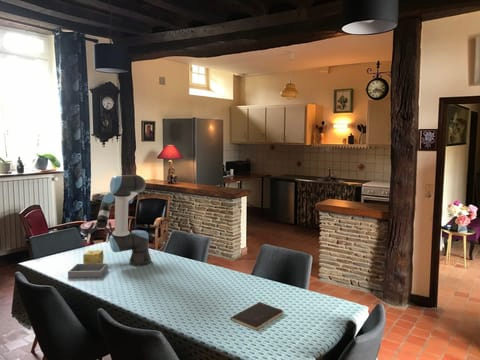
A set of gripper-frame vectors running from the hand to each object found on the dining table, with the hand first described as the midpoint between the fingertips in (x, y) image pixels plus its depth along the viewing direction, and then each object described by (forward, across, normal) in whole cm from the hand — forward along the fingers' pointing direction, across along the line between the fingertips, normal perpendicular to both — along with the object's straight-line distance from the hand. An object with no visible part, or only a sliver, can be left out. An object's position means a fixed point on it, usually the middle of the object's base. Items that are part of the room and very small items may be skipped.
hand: (97, 242), depth 269 cm
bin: (+28, -2, +9) cm, 30 cm away
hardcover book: (+73, -108, +53) cm, 140 cm away
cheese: (+17, 0, -3) cm, 18 cm away
